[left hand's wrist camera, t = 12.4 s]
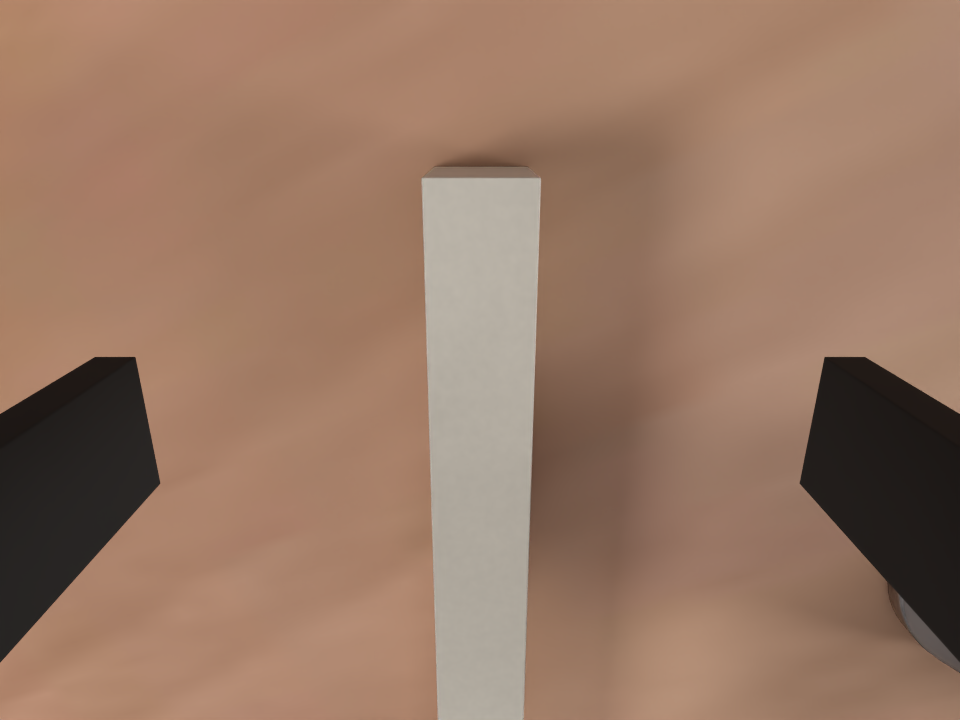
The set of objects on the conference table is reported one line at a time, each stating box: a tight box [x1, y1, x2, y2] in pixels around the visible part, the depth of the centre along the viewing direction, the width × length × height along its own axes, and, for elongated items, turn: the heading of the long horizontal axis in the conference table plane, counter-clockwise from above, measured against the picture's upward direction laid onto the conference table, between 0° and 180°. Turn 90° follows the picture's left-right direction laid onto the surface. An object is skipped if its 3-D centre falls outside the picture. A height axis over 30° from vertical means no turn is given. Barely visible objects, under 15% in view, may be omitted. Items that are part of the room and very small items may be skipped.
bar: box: [422, 167, 541, 720], centre depth 41 cm, size 63×5×8 cm, turn 0°
